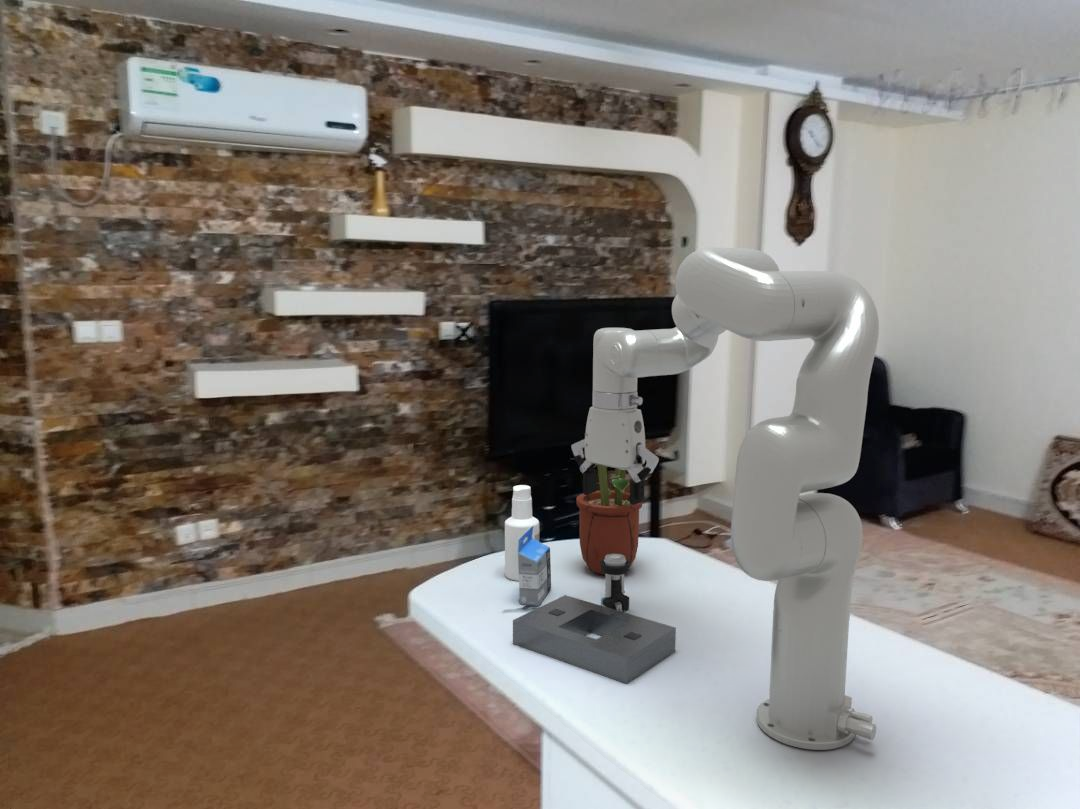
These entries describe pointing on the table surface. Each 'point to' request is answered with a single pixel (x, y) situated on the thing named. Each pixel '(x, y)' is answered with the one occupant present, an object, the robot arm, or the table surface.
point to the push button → (615, 582)
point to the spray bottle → (518, 528)
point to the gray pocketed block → (614, 655)
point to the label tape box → (533, 570)
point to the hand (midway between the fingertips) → (612, 498)
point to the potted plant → (608, 521)
